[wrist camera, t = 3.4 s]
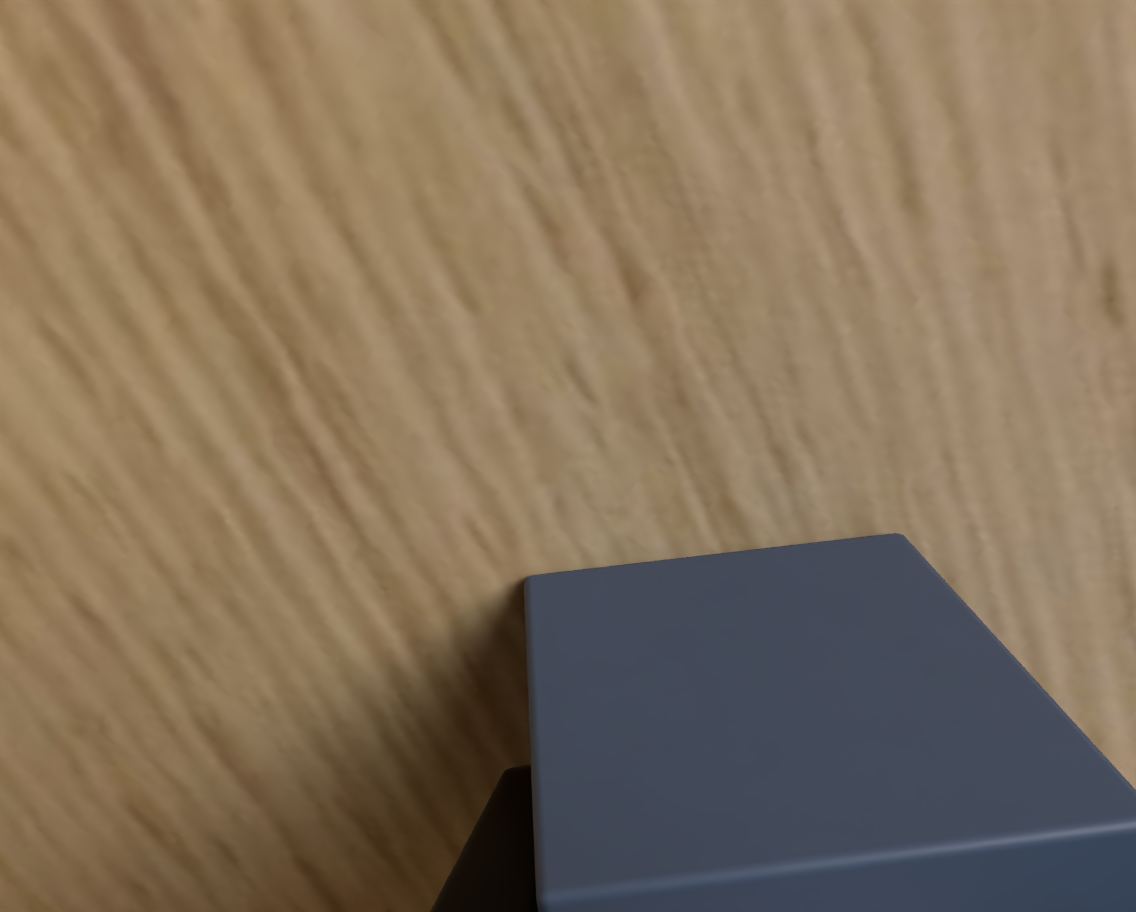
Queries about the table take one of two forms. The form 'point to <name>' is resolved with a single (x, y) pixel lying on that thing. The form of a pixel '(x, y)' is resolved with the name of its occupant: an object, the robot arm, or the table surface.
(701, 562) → the block
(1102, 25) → the table surface
